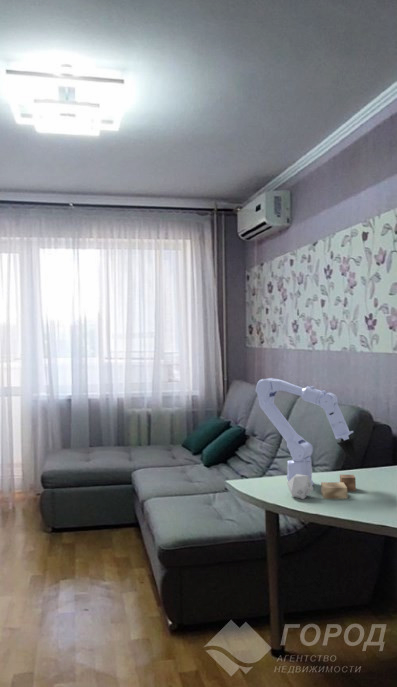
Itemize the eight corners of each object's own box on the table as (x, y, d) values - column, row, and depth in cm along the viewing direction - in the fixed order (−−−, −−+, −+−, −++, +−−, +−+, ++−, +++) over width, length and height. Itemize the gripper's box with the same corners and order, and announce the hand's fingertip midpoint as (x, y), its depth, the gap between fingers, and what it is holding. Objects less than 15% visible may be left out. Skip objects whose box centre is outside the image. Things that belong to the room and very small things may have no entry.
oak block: (324, 499, 199) (323, 487, 199) (321, 493, 207) (321, 482, 207) (347, 499, 198) (347, 487, 198) (343, 493, 206) (343, 482, 206)
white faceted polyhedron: (291, 502, 196) (308, 481, 194) (278, 486, 203) (294, 465, 201) (306, 507, 201) (322, 486, 199) (292, 490, 208) (308, 470, 206)
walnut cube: (341, 491, 208) (341, 477, 208) (340, 487, 213) (339, 474, 213) (355, 491, 208) (355, 477, 208) (353, 488, 213) (353, 474, 213)
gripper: (350, 419, 207) (365, 454, 204) (345, 420, 221) (360, 453, 219) (331, 426, 208) (346, 461, 205) (328, 426, 222) (342, 459, 219)
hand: (352, 457), depth 212 cm, fingers open, 7 cm apart
